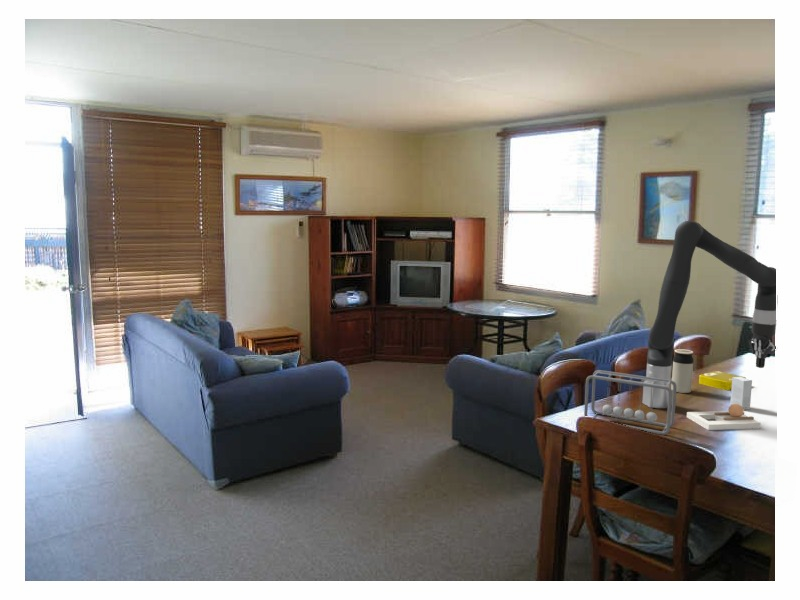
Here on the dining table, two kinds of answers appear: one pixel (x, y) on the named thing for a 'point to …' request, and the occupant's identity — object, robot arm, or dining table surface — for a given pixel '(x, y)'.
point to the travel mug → (682, 370)
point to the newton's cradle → (629, 412)
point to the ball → (735, 410)
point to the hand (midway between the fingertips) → (759, 367)
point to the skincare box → (741, 392)
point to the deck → (722, 420)
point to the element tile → (718, 380)
